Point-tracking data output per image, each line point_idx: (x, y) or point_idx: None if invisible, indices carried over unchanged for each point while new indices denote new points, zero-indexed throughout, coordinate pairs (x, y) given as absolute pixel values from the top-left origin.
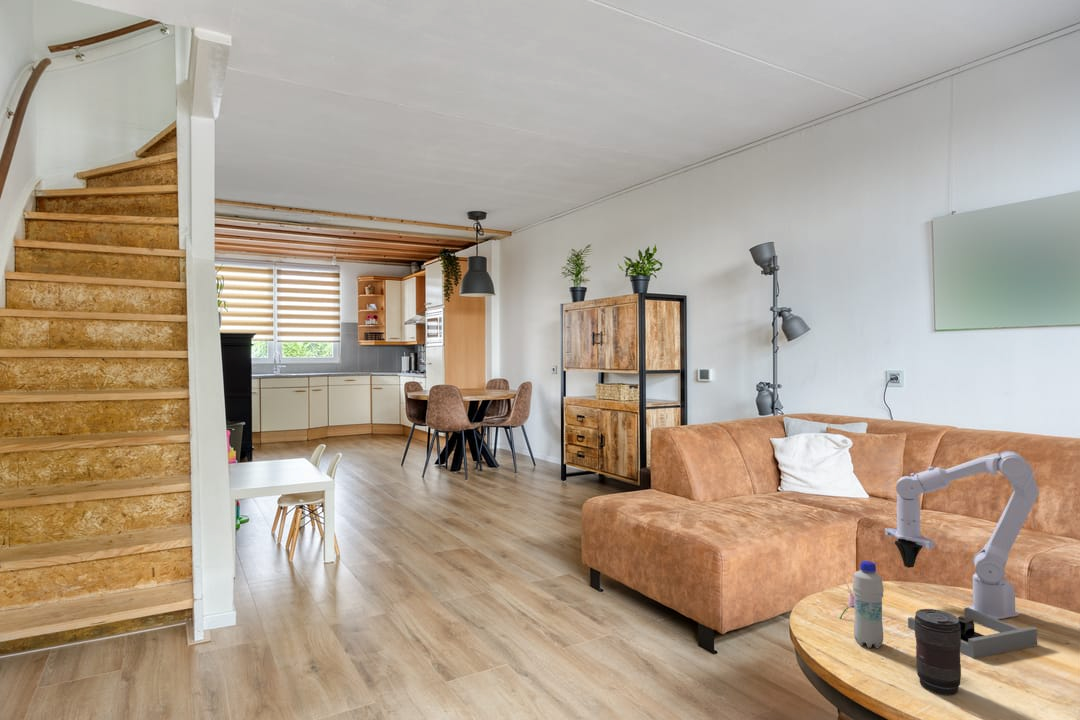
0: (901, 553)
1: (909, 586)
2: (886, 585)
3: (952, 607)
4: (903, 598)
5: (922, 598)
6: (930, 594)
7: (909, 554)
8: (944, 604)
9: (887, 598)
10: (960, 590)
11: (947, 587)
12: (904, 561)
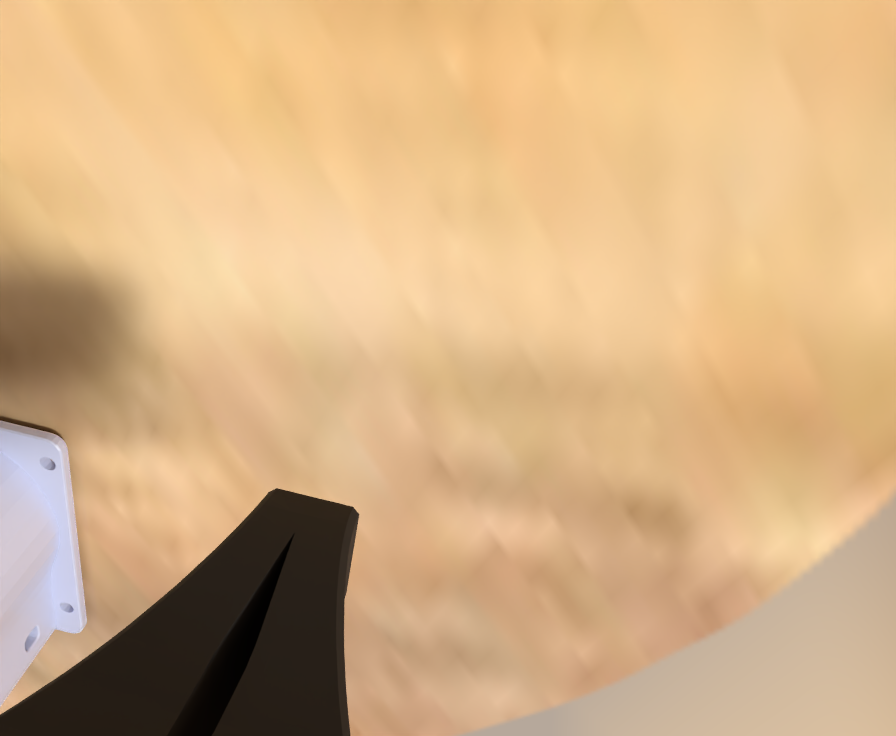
0: (309, 701)
1: (616, 582)
2: (780, 465)
3: (130, 403)
4: (471, 261)
5: (378, 406)
6: (405, 537)
7: (56, 687)
8: (202, 416)
9: (573, 101)
10: (353, 730)
11: (432, 728)
12: (303, 559)
